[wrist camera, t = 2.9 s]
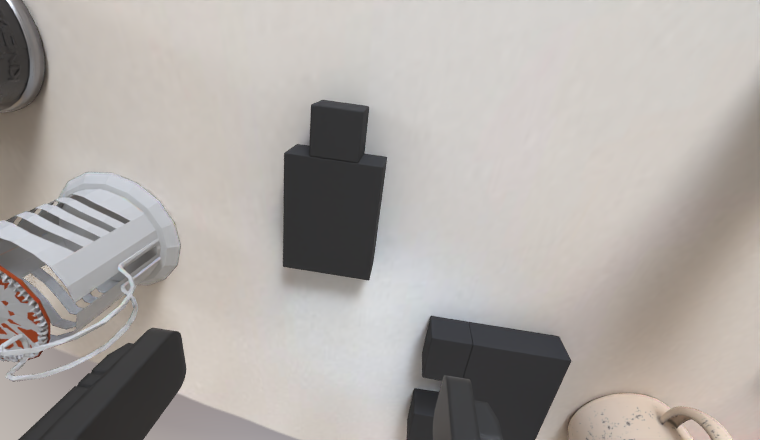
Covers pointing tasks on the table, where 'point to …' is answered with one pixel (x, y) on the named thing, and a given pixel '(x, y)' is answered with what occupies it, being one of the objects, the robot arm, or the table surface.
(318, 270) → the small pad
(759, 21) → the table surface
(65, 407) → the robot arm
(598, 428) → the teacup with lid
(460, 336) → the large pad
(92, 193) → the french press
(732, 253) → the table surface
